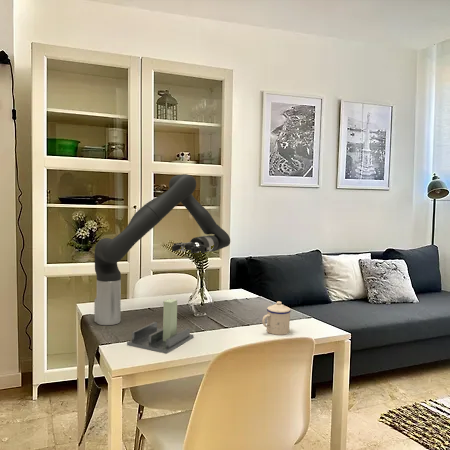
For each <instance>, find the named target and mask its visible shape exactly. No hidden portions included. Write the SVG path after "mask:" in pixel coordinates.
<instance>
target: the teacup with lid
mask: <svg viewBox="0 0 450 450" xmlns="http://www.w3.org/2000/svg"><path fill="white" fill-rule="evenodd" d="M266 312H267V314H264V315H263V317H262V320H261V322H262V325H263V327H265V328H266V331H267V332H268V333H269V334H272V335H275V336H283V335H287V334H289V333H290V325H291V324H290V323H291V322H290V321H291V320H290V319H291V308H290V307H288V306H286V305H284V304H282V301H280V300H279V301H276V303H274V304H273V305H272V304H271V305H268V307H266Z"/></svg>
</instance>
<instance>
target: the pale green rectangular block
mask: <svg viewBox="0 0 450 450" xmlns="http://www.w3.org/2000/svg"><path fill="white" fill-rule="evenodd" d="M162 309H163V315H162V319H163V320H162V324H163V325H162V329H163V341H166V339H167V338H169V337H171V336H173V335H175V334H177V332H178V331H177V329H178V328H177V327H178V324H177V323H178V300H177V299H172V298H169V299H166V300H164V301H163V308H162Z"/></svg>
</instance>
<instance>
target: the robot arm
mask: <svg viewBox="0 0 450 450" xmlns="http://www.w3.org/2000/svg"><path fill="white" fill-rule="evenodd" d="M168 183H169V184H168V187H169V188H168V190H166V191H165V192H164V193H162V194H160V195H158V196H156V197H155V198H152V199H151V200H150V201H147V203H145V204H144V205H142V206H141V208H140V209H138V210H137V211H136V212H135V213H134V214H133V216H132V217H131V218H130V220H129V222H128V224H127V225H126V227H125V228H124V229H123V231H121V232H120V233H118V235H116V236H115V237H114V238H108V237H107V238H102V239H100V240H98V241H97V243H96V245H95V247H94V256H93V257H94V271H95V276H96V297H95V298H94V307H93V308H94V309H93V310H94V319H93V320H94V321H93V322H94V323H96V324H97V325H101V326H112V325H117V324H119V323H120V322H121V312H122V311H121V310H122V309H121V305H122V304H121V301H122V299H121V298H122V297H121V296H122V293H121V291H122V290H121V289H122V285H121V283H122V280H121V279H122V275H121V271H120V269H119V266H118V262H119V261H121V260H122V259H123V258H124V257H125V255H127V253H128V252H129V251H130V250H131V249H132V248H133V247H134V246H135V245H136V243H137V242H139V241H140V240H141V239H142V238H144V236H146V235H147V233H149V232H150V231H151V230H152V229H153V228H155V226H157V225H158V224H160V222H161V221H162V220H163V219H164V218H166V216H167V215H169V213H170V212H171V211H172V210H173V209H174V208H175V207H177V206H178V205H179V204H180V203H181V204H182V205H183V207H185V209H186V210H187V211H188V212H189V214H190V215H191V217H192V218H193V220H195V222H196V223H197V225H198V226H199V228H200V229H201V231H202V232H203V233H204V234H205V235H201V236H197V237H193V238H191V239H190V241H188V242H176V243H175V242H174V243H172V246H171V251H172V252H177V251H178V252H179V251H181V252H187V251H186V250H191V252H190V254H193V253H199V252H200V251H201V253H205V252H208V251H209V252H208V253H211V252H216V251H219V250H222V249H224V248H226V247H228V246H230V245H231V237H230V235H229V234H228V233H227V231H225V230H224V229H223V228H222V227H221V226H220V225H219V224H217V222H216V221H215V219H214V218H213V217H212V215H211V213H210V211H208V210H207V209H206V208H205V207H204V206H203V205H202V204H201V203H200V202H199V201H198V200H197V199H196V198H195V197H194V195H193V193H194V192H195V191H196V188H197V181H196V178H195V177H194V176H193V175H191V174H188V173H186V174H184V173H183V174H177V175H174V176H172V177H171V178H170V179H169V182H168ZM213 245H214V247H213V248H212V249H211V246H213ZM180 247H181V249H180ZM205 254H206V253H205Z"/></svg>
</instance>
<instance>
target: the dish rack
mask: <svg viewBox="0 0 450 450" xmlns="http://www.w3.org/2000/svg"><path fill="white" fill-rule="evenodd" d="M194 336H195V335H194V334H192V333H191V329H190V327H185V328H184V329H182V330H180V331H177V334H175V335H173V336H171V337H169V338H167V339H166V341H163V328H160V327H158V322H157V321H153V322H151V323H149V324H147V325H146V324H145V326H142V327H140V328H138V329H136V330H134V331H131V340H128V341H127V342H126V345H127V346H130V347H134V348H140V349H144V350H149V351H154V352H158V353H163V354H168V353H170V352H172V351H174V350H175V349H177V348H178V347H180V346H182V345H183V344H186V342H188V341H190V340H192V339H193V338H194Z"/></svg>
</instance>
